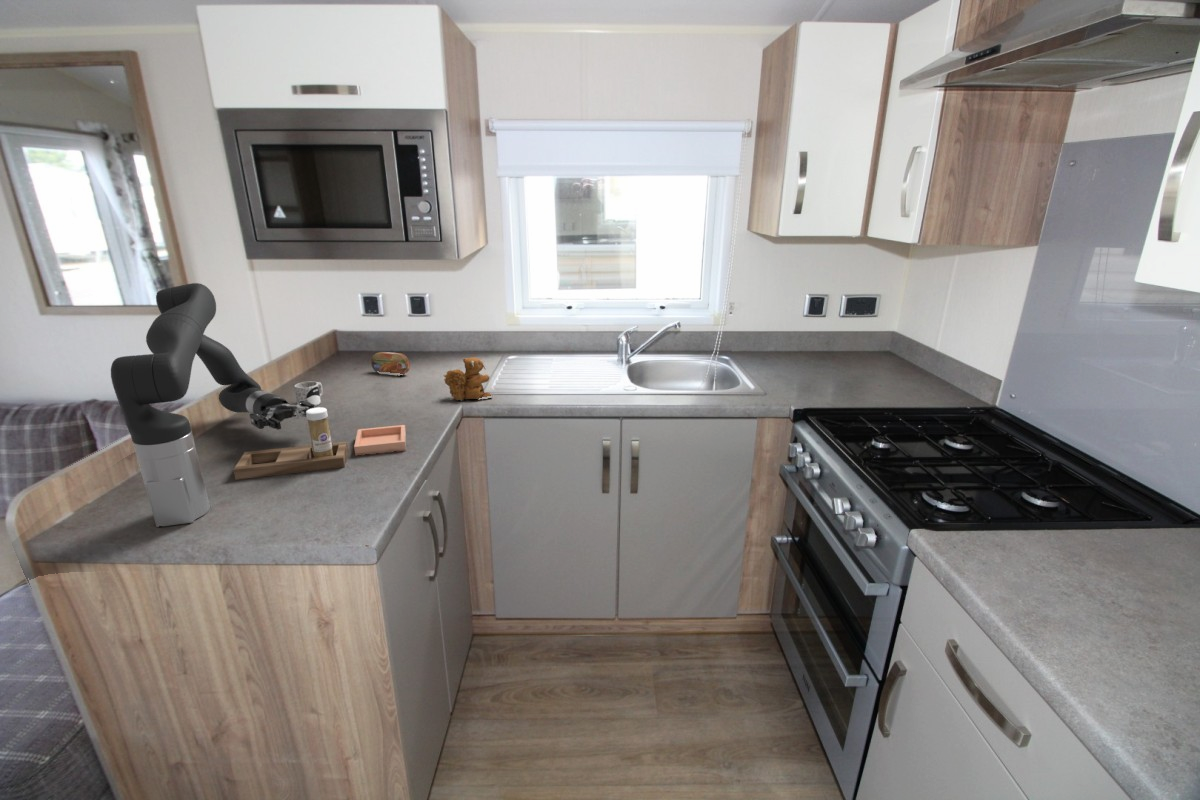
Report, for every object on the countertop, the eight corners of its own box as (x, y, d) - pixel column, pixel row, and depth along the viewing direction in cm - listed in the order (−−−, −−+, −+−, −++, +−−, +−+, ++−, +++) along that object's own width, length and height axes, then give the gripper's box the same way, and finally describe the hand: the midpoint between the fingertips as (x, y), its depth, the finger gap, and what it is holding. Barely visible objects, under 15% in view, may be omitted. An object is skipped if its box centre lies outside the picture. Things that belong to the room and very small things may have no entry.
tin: (372, 373, 210) (369, 351, 207) (377, 371, 213) (374, 349, 210) (407, 377, 206) (404, 355, 203) (412, 375, 209) (410, 353, 206)
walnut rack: (344, 467, 136) (343, 457, 136) (235, 479, 130) (233, 469, 129) (348, 450, 145) (347, 441, 145) (246, 461, 139) (244, 452, 138)
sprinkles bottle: (322, 466, 137) (313, 414, 132) (310, 462, 139) (301, 410, 134) (338, 459, 140) (330, 408, 136) (326, 455, 142) (318, 405, 138)
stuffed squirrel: (495, 398, 185) (493, 359, 181) (452, 406, 178) (449, 365, 174) (483, 390, 193) (481, 352, 189) (442, 397, 186) (439, 358, 182)
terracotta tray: (405, 450, 146) (404, 441, 145) (355, 456, 142) (354, 446, 142) (405, 433, 157) (404, 424, 156) (359, 437, 153) (357, 429, 152)
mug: (311, 409, 174) (308, 388, 172) (292, 407, 175) (288, 387, 173) (332, 398, 183) (329, 379, 181) (314, 397, 184) (310, 377, 182)
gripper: (235, 400, 146) (264, 414, 137) (291, 387, 157) (322, 399, 147) (241, 427, 148) (270, 443, 139) (296, 412, 159) (326, 426, 150)
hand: (296, 420), depth 143 cm, fingers open, 8 cm apart
